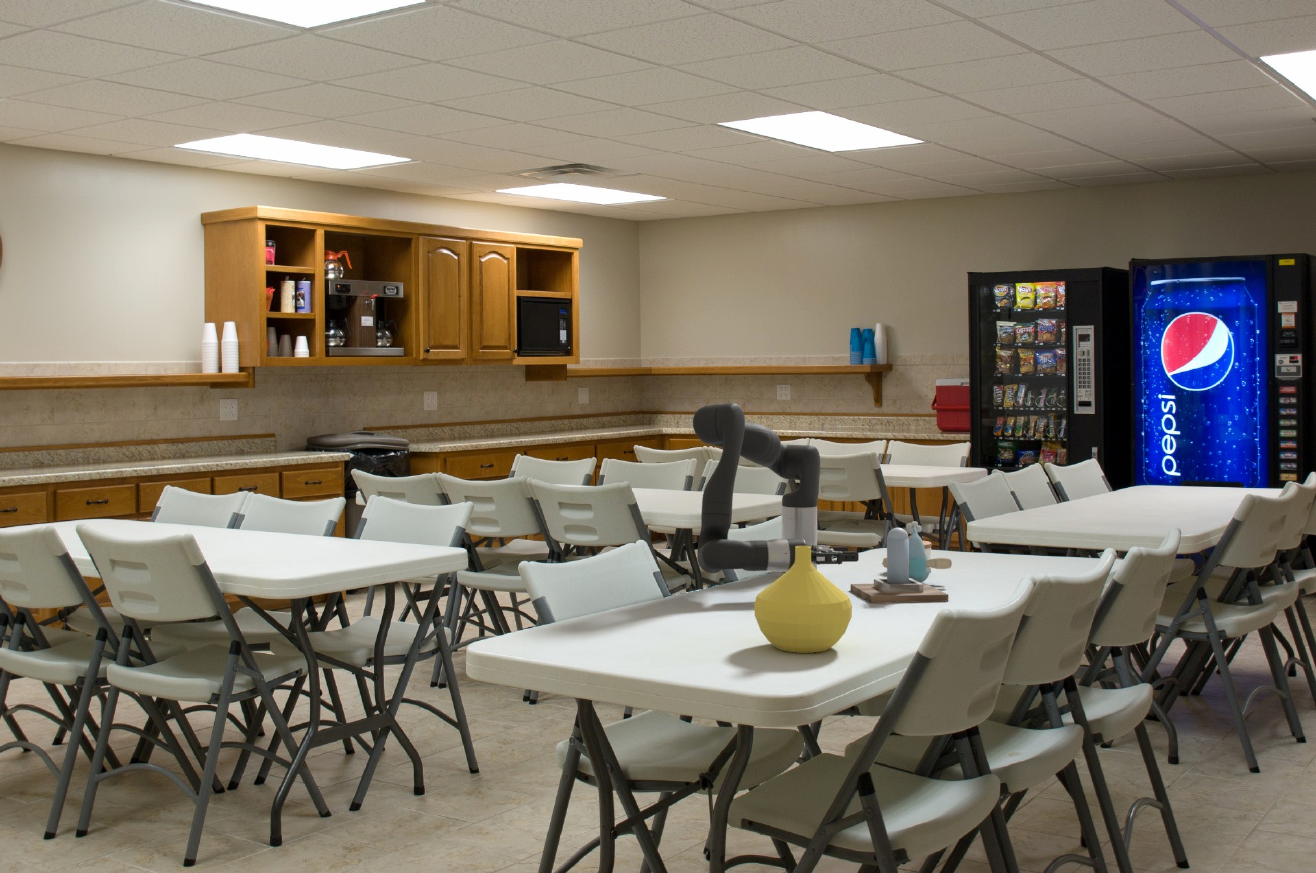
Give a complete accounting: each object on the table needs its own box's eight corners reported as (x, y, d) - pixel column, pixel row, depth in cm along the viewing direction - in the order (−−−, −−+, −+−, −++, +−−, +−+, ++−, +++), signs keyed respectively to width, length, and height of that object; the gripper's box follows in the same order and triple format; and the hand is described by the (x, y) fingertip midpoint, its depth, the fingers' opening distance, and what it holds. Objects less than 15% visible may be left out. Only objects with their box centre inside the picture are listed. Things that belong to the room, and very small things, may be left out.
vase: (855, 640, 242) (855, 542, 241) (847, 661, 224) (848, 555, 223) (761, 635, 246) (761, 539, 245) (747, 655, 228) (747, 551, 227)
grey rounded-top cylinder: (884, 587, 293) (884, 526, 293) (904, 587, 294) (904, 526, 294) (891, 591, 288) (890, 529, 288) (911, 590, 289) (911, 528, 289)
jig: (850, 590, 299) (850, 576, 298) (922, 588, 301) (923, 575, 301) (871, 603, 282) (872, 588, 282) (948, 601, 284) (948, 586, 284)
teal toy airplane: (946, 580, 314) (947, 520, 313) (952, 587, 303) (952, 525, 303) (879, 579, 316) (879, 520, 315) (882, 585, 305) (883, 525, 304)
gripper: (792, 543, 280) (862, 541, 282) (777, 535, 294) (844, 534, 296) (791, 576, 280) (861, 574, 283) (777, 566, 294) (844, 565, 297)
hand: (852, 553), depth 289 cm, fingers open, 8 cm apart
